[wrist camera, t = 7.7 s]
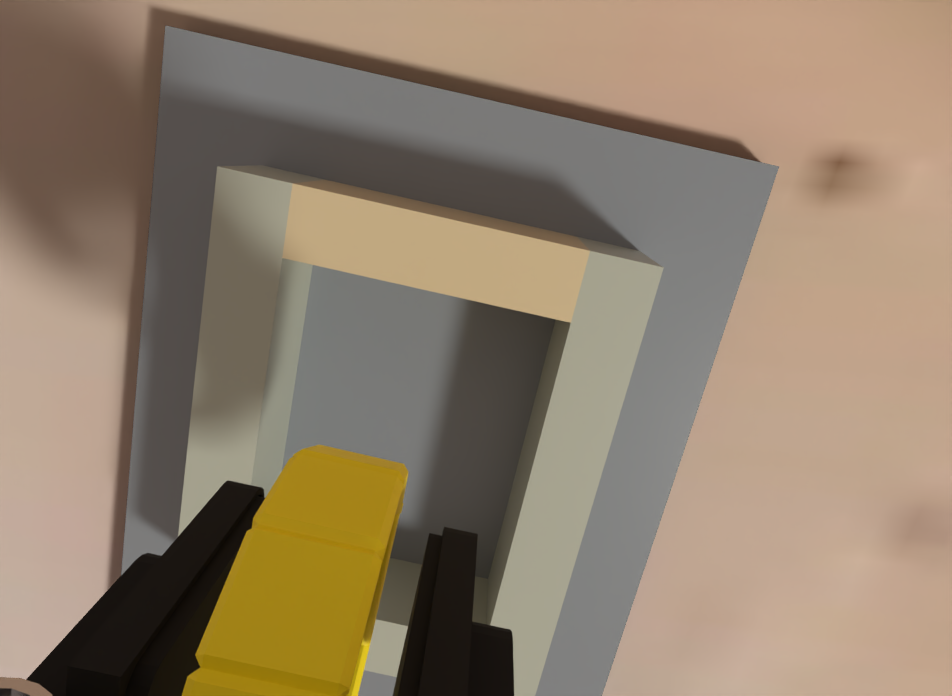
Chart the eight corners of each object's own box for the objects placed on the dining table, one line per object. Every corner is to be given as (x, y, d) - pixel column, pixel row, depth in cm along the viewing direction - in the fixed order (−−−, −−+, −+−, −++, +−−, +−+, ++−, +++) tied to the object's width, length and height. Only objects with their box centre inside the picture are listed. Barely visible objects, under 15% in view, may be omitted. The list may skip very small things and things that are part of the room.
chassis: (765, 166, 16) (831, 167, 13) (556, 802, 21) (564, 914, 18) (181, 32, 15) (98, -1, 12) (122, 710, 21) (55, 808, 18)
